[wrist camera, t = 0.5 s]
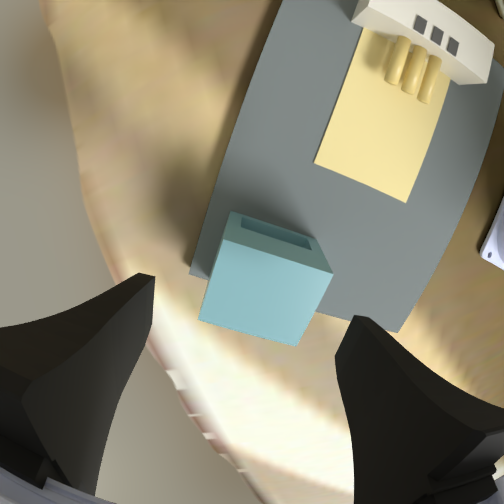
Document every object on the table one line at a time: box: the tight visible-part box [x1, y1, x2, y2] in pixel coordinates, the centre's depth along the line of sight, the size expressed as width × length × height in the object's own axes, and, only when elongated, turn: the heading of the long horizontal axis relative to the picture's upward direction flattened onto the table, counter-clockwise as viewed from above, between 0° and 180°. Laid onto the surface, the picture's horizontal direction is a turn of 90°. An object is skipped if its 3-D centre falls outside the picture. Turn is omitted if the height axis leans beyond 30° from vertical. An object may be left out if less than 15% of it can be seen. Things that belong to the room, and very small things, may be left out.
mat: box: [189, 0, 504, 333], centre depth 17 cm, size 16×22×1 cm
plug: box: [198, 211, 334, 346], centre depth 17 cm, size 5×5×5 cm
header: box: [351, 0, 495, 104], centre depth 13 cm, size 8×6×3 cm
